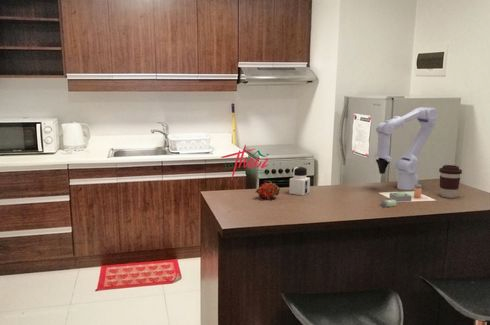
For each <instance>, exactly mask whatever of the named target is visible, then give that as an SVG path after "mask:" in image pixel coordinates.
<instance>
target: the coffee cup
mask: <svg viewBox="0 0 490 325" xmlns="http://www.w3.org/2000/svg"><path fill="white" fill-rule="evenodd" d="M438 172H439V174H440V175H439V192H440V193H439V194H440V197H442V198H446V199H447V198H449V199H455V198H457V197H458V196H457V195H458V190H459V188H460V182H461V181H460V180H461V175H462V174H463V169H460V167H459V166H458V165H453V164H444V165H442V167H439V169H438Z"/></svg>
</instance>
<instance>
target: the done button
mask: <svg viewBox="0 0 490 325" xmlns="http://www.w3.org/2000/svg"><path fill="white" fill-rule="evenodd" d="M395 192H396V195H398V196H405V193H404V192H405V191H395Z"/></svg>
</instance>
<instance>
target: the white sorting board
mask: <svg viewBox="0 0 490 325" xmlns="http://www.w3.org/2000/svg"><path fill="white" fill-rule="evenodd" d="M396 192H397V191H387V192H379V194H380V195H382V196H384V197H386V198H388V200H396V202H397V203H407V202H430V201H432V202H434V201H437V200H436V199H435V198H433V197H429V196H427V195H425V194H422V193H421V198H414V190H413V191H412V190H409V191H403V192H404V193H405V196H398V195H396Z"/></svg>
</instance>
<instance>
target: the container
mask: <svg viewBox="0 0 490 325" xmlns="http://www.w3.org/2000/svg"><path fill="white" fill-rule="evenodd" d="M292 171H293V175H292V176H293V177H291V178H289V190H288V192H289V194H290V195H295V196H296V195H297V196H306V195H307V194H309V193H310V191H311V190H310V189H311V178H310V177H307V176H308V175H307V174H308V173H307V172H308V171H307V167H304V166H295V167H294V168H293V170H292Z"/></svg>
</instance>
